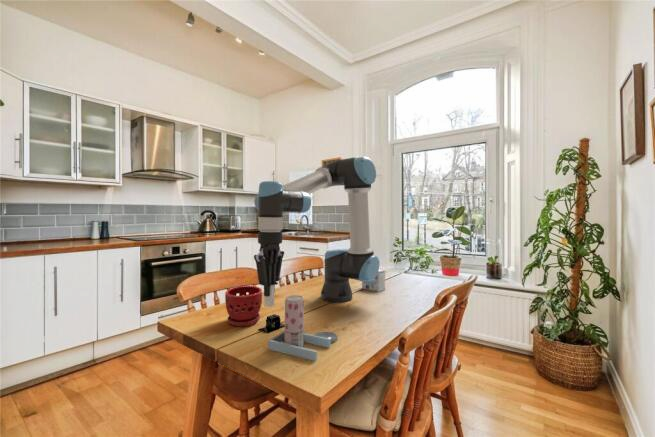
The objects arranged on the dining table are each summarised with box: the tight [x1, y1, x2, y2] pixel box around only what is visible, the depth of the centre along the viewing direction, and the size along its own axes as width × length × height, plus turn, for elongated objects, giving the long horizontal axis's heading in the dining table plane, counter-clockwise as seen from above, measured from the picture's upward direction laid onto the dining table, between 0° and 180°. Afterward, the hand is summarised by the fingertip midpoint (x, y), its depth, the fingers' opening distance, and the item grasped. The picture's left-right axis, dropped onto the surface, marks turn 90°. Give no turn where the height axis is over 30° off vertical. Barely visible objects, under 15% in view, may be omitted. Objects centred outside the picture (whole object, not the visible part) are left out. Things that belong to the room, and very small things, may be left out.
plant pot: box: [224, 285, 263, 327], centre depth 109 cm, size 13×13×12 cm
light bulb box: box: [361, 268, 386, 293], centre depth 158 cm, size 11×7×11 cm, turn 50°
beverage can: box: [284, 294, 305, 348], centre depth 90 cm, size 6×6×15 cm
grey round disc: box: [313, 331, 339, 344], centre depth 96 cm, size 8×8×1 cm
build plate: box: [257, 313, 285, 335], centre depth 105 cm, size 12×7×5 cm, turn 139°
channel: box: [267, 329, 331, 362], centre depth 89 cm, size 10×16×2 cm, turn 64°
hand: (269, 305), depth 93 cm, fingers closed
